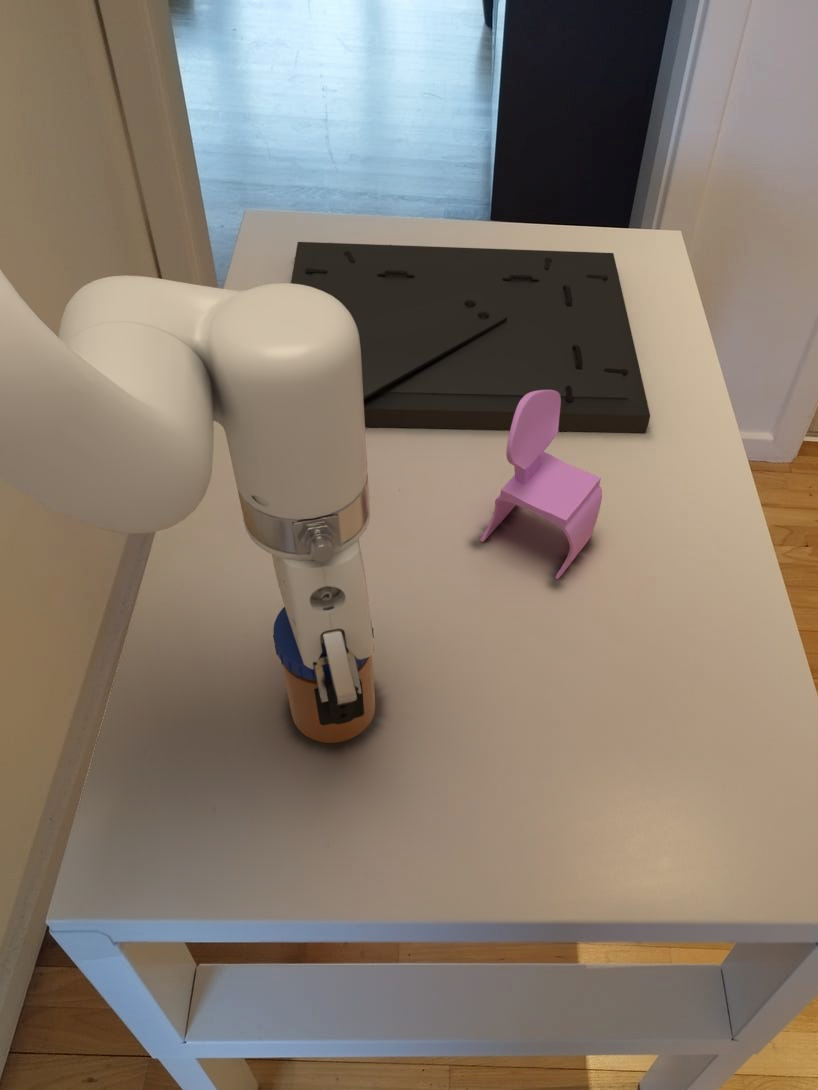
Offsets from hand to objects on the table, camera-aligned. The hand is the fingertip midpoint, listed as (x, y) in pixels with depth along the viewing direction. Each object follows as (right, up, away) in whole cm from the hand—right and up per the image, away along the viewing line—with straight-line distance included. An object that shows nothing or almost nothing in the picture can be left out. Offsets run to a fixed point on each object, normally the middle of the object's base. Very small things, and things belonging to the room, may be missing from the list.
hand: (327, 666), depth 68 cm
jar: (0, -3, +5) cm, 6 cm away
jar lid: (0, +3, -3) cm, 4 cm away
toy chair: (+17, +11, +17) cm, 26 cm away
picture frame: (+9, +36, +35) cm, 51 cm away
